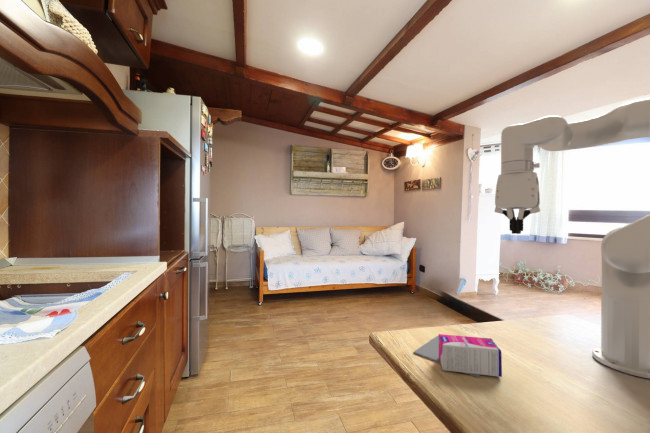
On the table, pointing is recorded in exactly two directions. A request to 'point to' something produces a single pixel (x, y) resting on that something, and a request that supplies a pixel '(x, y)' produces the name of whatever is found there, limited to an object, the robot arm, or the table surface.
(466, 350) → the supplement box
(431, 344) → the mat
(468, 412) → the table surface
